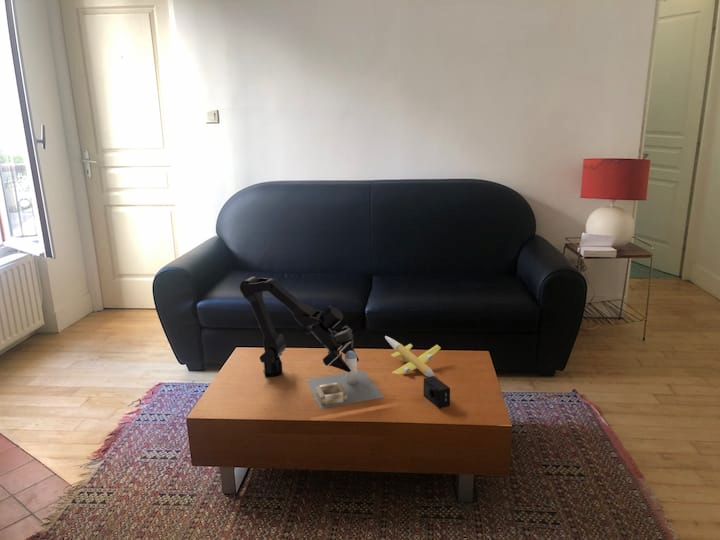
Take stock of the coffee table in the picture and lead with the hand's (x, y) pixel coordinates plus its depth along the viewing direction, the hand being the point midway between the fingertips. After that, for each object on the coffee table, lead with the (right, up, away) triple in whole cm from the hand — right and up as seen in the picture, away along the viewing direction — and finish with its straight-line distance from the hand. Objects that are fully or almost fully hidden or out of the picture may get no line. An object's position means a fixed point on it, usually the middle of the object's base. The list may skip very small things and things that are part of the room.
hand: (354, 366), depth 199 cm
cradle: (-8, -10, -9) cm, 16 cm away
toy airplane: (+22, -3, +15) cm, 27 cm away
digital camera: (+28, -10, -12) cm, 32 cm away
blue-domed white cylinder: (-1, -6, +2) cm, 6 cm away
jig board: (-4, -8, -3) cm, 10 cm away
